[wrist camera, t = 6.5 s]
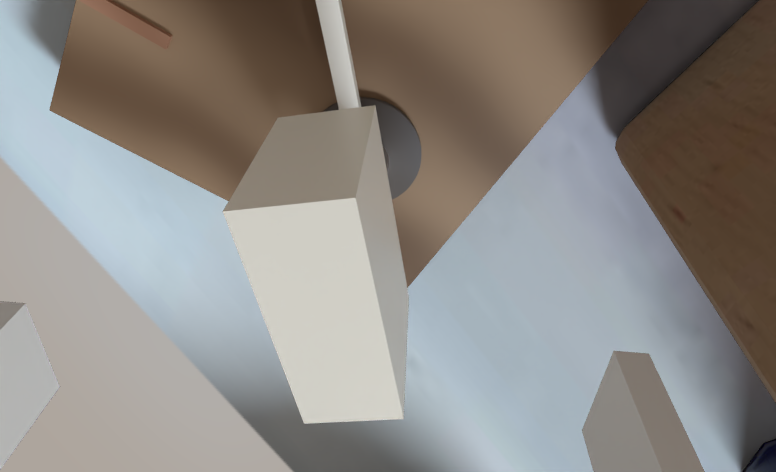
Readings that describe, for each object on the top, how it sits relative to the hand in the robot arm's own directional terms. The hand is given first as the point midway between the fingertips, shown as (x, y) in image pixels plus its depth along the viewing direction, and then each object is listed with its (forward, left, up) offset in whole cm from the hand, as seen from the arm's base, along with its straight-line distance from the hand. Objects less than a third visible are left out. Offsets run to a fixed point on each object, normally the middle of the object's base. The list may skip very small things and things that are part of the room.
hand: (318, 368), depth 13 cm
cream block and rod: (+3, +2, -10) cm, 10 cm away
